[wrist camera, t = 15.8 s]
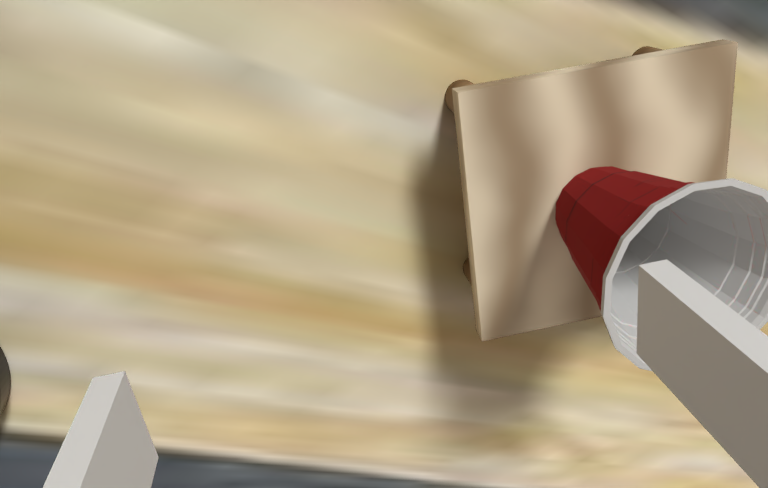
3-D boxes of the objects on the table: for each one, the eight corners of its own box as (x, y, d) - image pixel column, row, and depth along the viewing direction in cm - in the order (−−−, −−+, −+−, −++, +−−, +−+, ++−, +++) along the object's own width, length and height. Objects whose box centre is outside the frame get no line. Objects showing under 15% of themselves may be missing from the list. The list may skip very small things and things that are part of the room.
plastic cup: (698, 212, 44) (834, 293, 33) (569, 304, 46) (660, 410, 35) (629, 89, 40) (760, 136, 29) (489, 195, 41) (564, 277, 30)
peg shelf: (456, 292, 53) (482, 341, 46) (431, 73, 45) (457, 92, 38) (661, 250, 54) (716, 291, 47) (670, 30, 46) (737, 42, 40)
